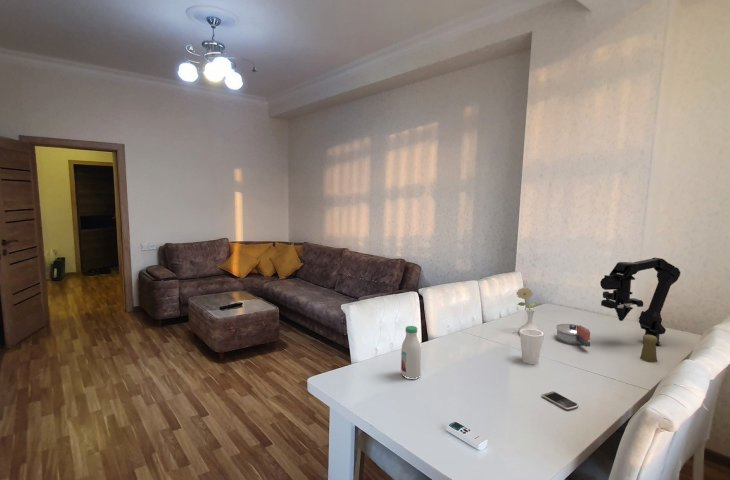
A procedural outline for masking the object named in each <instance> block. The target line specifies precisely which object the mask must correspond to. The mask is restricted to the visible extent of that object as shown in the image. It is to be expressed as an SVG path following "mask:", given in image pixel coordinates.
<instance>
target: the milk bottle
mask: <svg viewBox="0 0 730 480" xmlns="http://www.w3.org/2000/svg"><path fill="white" fill-rule="evenodd" d="M417 334H418V327H417V326H416V325H415V326H414V325H407V326H405V338H404V340H403V342H402V344H401V353H400V354H401V359H400V365H401V366H400V375H401V374H402V375H404V376H406V377H409V378H416V377H419V376H420V377H421V372H422V371H421V369H422V368H421V364H422V363H421V360H422V356H421V355H422V352H421V351H422V350H421V349H422V348H421V343H420V341H419V339H418V335H417ZM402 375H401V376H402ZM420 377H419V378H420Z"/></svg>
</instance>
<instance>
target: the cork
mask: <svg viewBox="0 0 730 480" xmlns="http://www.w3.org/2000/svg"><path fill="white" fill-rule="evenodd" d="M643 341H644V343H643V346H642V350H641V352H640V353H641V354H640V360H641V361H644V362H647V363H658V356H657V346H656V343H657V337H655V336H653V335H645V334H644V335H643V337H642V342H643Z"/></svg>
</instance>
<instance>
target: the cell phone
mask: <svg viewBox="0 0 730 480" xmlns="http://www.w3.org/2000/svg"><path fill="white" fill-rule="evenodd" d="M540 397H541V398H543V399H544V400H546V401H548V402H550V403H551V404H553V405H554V406H557V407H559V408H561V409H562V410H564V411H566V412H569V411H573V410H576V409H578V407H579V404H578V403H576V402H575V401H573V400H571V399H570V398H567V397H565V396H563V395H562V394H559V393H558V392H556V391H551V392H547V393H542V394H540Z"/></svg>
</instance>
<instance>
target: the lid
mask: <svg viewBox="0 0 730 480" xmlns="http://www.w3.org/2000/svg"><path fill="white" fill-rule="evenodd" d="M555 328H556V331H557V330H558V331H560V332H562V333H566V334H570V335H578V336H581V337H582V338H584V339H585V340H588V341H590V340H591V330H590V329H589V328H587V327H584V326H582V325H580V324H579V325H578V324H573V323H560V324H557V325H556V327H555Z"/></svg>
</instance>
